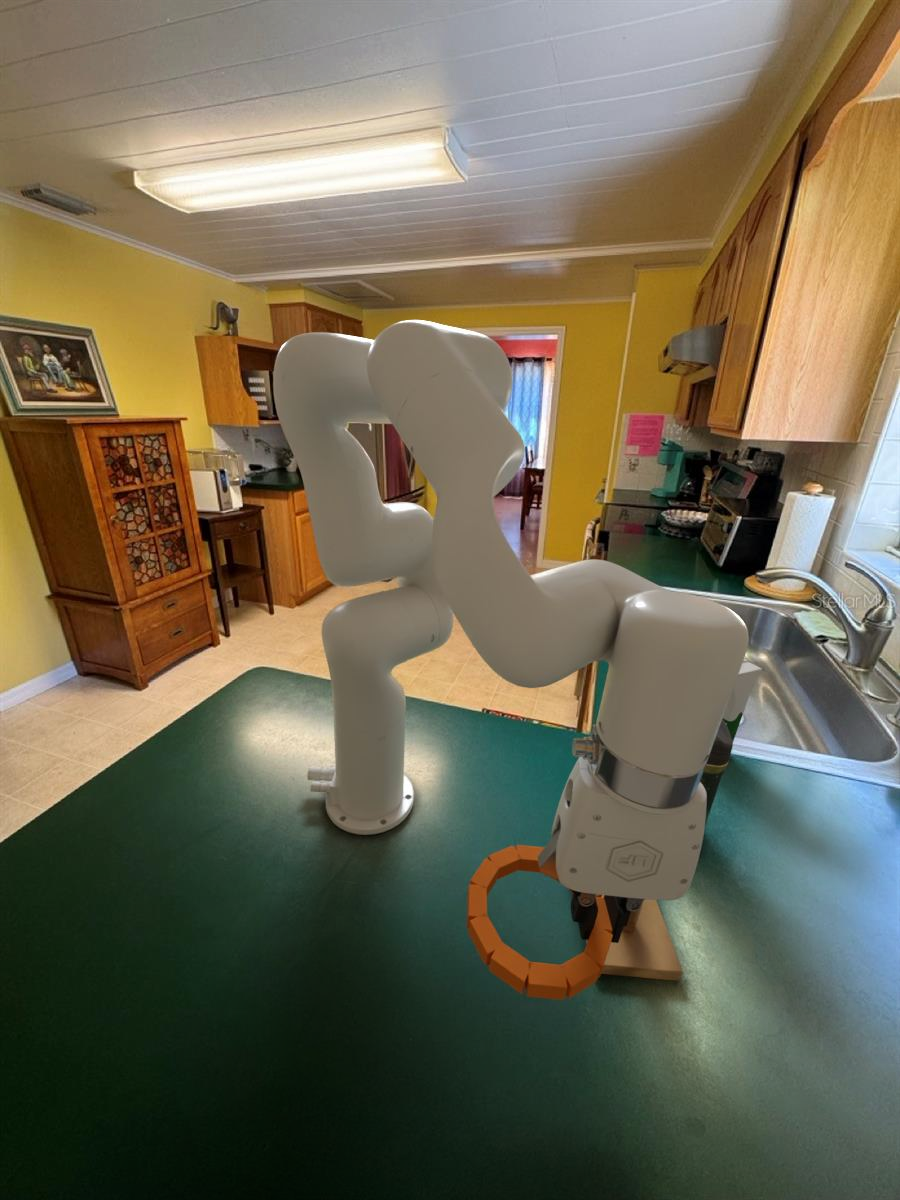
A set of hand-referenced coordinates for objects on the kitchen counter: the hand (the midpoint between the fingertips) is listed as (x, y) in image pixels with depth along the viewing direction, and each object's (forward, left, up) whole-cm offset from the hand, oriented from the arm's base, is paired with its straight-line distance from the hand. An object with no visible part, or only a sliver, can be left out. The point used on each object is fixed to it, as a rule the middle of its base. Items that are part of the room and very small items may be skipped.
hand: (595, 923), depth 41 cm
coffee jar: (+18, +24, -12) cm, 32 cm away
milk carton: (+30, +42, -12) cm, 53 cm away
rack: (+7, +8, -12) cm, 16 cm away
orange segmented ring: (-5, 0, 0) cm, 5 cm away
